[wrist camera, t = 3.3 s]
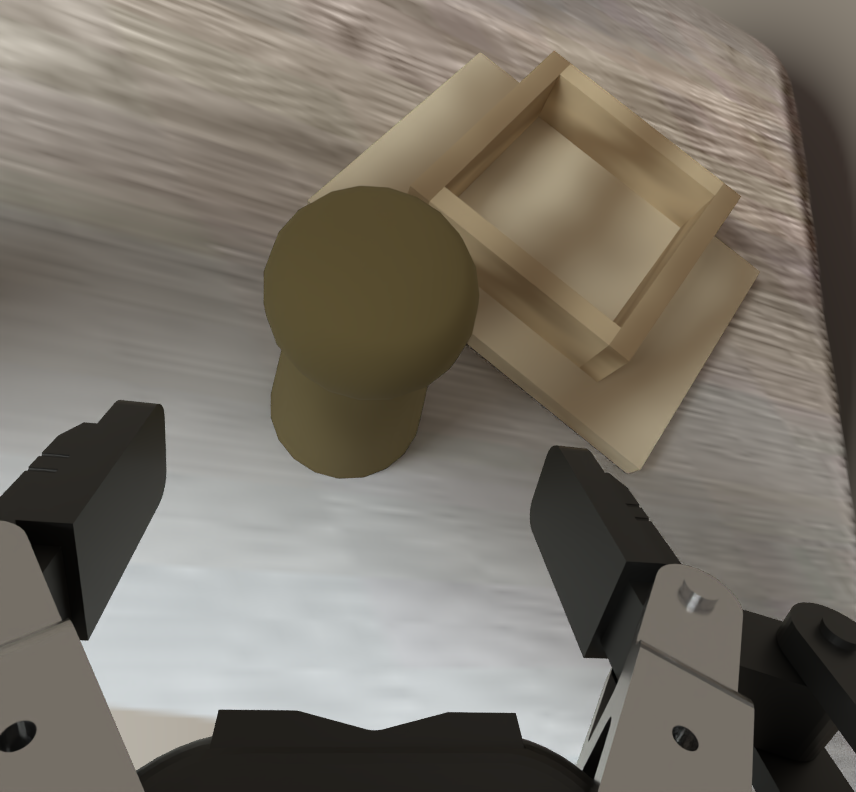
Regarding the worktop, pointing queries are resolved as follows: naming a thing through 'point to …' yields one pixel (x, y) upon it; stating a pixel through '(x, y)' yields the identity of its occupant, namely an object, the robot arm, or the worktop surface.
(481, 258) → the stand
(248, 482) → the worktop surface
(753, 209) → the worktop surface
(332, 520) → the worktop surface
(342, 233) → the cork
